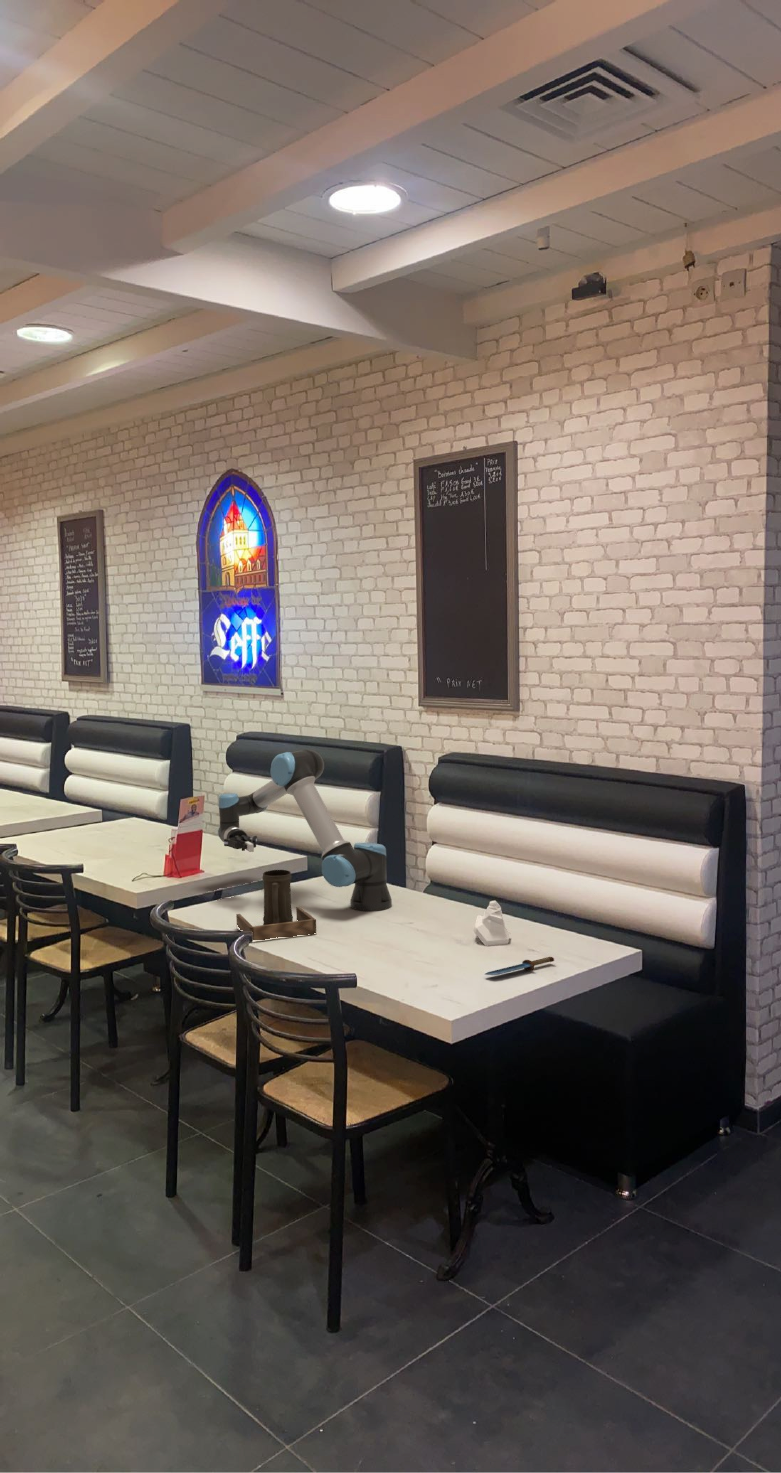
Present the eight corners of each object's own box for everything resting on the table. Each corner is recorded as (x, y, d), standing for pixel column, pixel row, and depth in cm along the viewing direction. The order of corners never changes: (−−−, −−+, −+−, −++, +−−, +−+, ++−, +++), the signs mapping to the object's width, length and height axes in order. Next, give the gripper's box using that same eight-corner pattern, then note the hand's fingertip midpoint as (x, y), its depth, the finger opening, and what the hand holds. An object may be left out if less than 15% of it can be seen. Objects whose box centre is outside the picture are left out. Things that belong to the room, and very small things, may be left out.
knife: (492, 970, 293) (482, 968, 297) (494, 981, 293) (483, 979, 297) (557, 954, 306) (546, 952, 310) (559, 964, 305) (547, 963, 310)
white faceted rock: (510, 938, 341) (520, 899, 337) (504, 955, 326) (515, 914, 323) (474, 927, 343) (484, 888, 340) (466, 943, 329) (476, 903, 326)
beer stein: (261, 923, 357) (260, 869, 354) (292, 921, 359) (290, 867, 356) (264, 939, 342) (263, 882, 339) (296, 936, 344) (295, 880, 341)
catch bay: (299, 920, 360) (299, 906, 360) (316, 934, 343) (316, 919, 343) (236, 928, 352) (236, 914, 351) (250, 942, 335) (250, 927, 334)
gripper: (253, 845, 396) (269, 856, 375) (219, 849, 392) (234, 860, 370) (252, 826, 396) (268, 836, 374) (218, 829, 391) (233, 839, 369)
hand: (251, 848), depth 372 cm, fingers closed
